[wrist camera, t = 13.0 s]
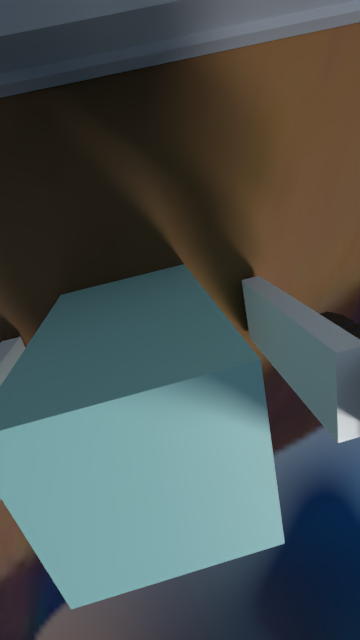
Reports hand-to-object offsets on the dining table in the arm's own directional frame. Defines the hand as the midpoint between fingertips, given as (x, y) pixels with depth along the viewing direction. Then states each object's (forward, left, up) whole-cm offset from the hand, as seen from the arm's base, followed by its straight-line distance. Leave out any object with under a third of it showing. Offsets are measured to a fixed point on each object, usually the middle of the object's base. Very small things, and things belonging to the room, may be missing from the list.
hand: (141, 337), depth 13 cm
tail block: (0, 0, 0) cm, 0 cm away
